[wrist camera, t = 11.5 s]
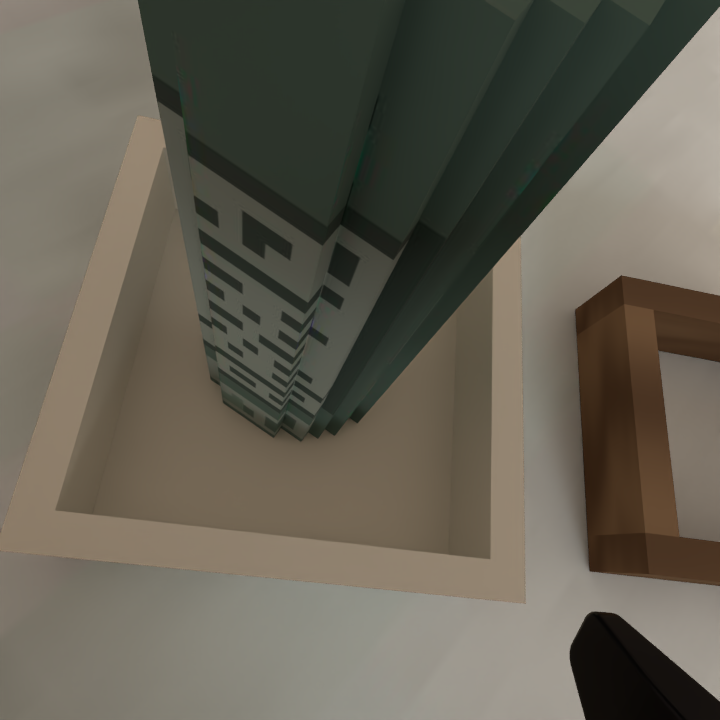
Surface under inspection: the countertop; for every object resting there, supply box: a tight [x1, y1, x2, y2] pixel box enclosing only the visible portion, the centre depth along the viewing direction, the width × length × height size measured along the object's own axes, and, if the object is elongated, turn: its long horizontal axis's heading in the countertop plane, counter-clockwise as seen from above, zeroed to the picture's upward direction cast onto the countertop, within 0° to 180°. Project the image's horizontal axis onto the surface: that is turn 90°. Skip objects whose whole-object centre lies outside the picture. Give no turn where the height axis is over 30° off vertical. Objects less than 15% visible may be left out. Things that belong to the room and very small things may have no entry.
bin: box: [0, 116, 526, 604], centre depth 17 cm, size 13×13×4 cm
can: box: [138, 0, 720, 442], centre depth 12 cm, size 6×6×15 cm
